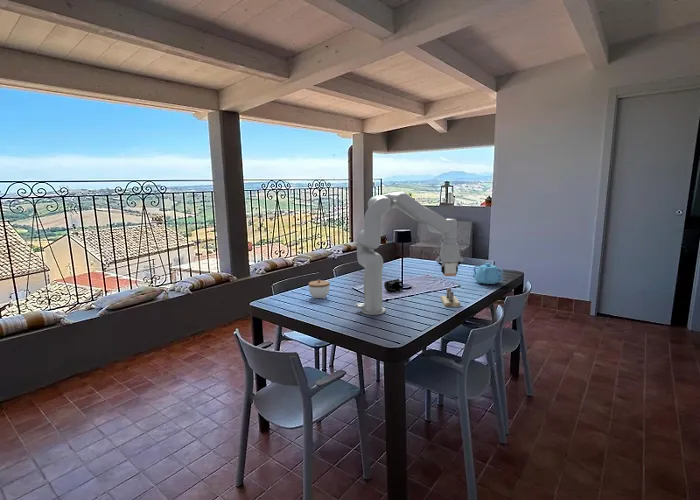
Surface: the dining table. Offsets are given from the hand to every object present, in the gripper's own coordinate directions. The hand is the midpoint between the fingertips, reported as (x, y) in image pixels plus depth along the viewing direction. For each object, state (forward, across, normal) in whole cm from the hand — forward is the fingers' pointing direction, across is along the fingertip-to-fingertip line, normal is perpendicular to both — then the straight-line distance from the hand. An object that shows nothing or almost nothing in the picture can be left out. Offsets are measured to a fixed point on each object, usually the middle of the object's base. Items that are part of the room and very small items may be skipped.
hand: (449, 273), depth 203 cm
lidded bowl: (+16, -75, +8) cm, 77 cm away
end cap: (+16, -30, +23) cm, 42 cm away
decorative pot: (+17, +32, +41) cm, 55 cm away
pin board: (+16, 0, -4) cm, 16 cm away
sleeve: (+1, 0, 0) cm, 1 cm away
